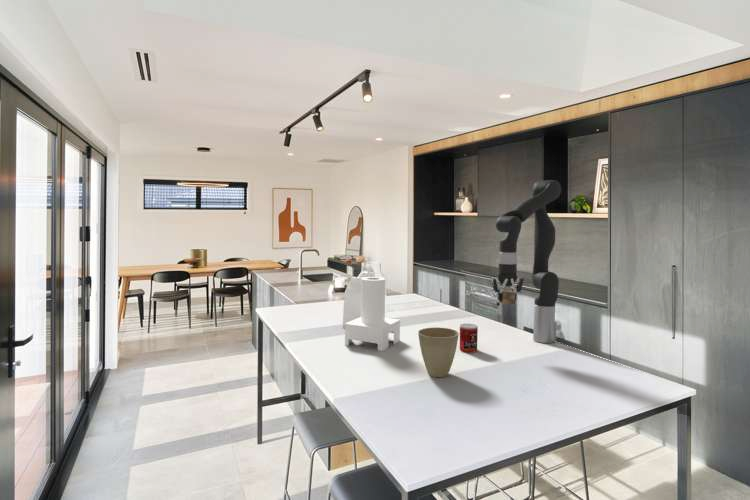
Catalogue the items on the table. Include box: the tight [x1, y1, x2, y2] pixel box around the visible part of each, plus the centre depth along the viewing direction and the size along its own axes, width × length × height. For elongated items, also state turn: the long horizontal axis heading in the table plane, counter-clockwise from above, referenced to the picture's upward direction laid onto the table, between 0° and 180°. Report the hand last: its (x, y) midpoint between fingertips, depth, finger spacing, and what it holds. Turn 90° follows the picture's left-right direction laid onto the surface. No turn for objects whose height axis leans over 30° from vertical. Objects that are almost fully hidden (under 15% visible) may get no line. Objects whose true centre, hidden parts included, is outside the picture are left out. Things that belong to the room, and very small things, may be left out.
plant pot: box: [417, 326, 460, 378], centre depth 166 cm, size 15×15×16 cm
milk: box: [342, 276, 362, 329], centre depth 237 cm, size 12×12×26 cm
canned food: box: [459, 323, 479, 354], centre depth 196 cm, size 8×8×11 cm
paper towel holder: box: [344, 276, 401, 352], centre depth 205 cm, size 19×19×30 cm
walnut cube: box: [498, 290, 516, 305], centre depth 193 cm, size 5×5×5 cm
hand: (506, 301), depth 193 cm, fingers closed on walnut cube, 5 cm apart
